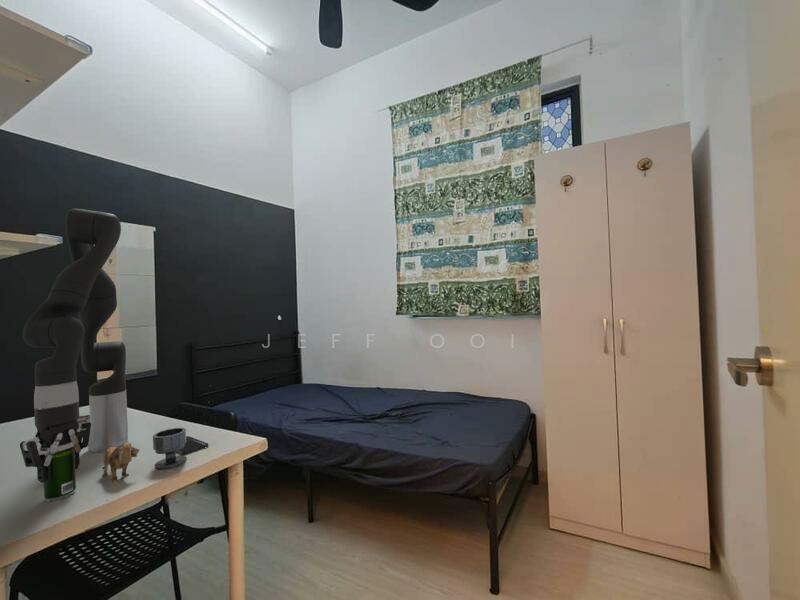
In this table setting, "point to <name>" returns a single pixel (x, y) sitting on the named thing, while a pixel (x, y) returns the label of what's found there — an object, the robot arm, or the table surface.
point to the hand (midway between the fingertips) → (59, 475)
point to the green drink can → (61, 473)
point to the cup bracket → (169, 447)
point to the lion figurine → (118, 459)
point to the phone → (192, 446)
